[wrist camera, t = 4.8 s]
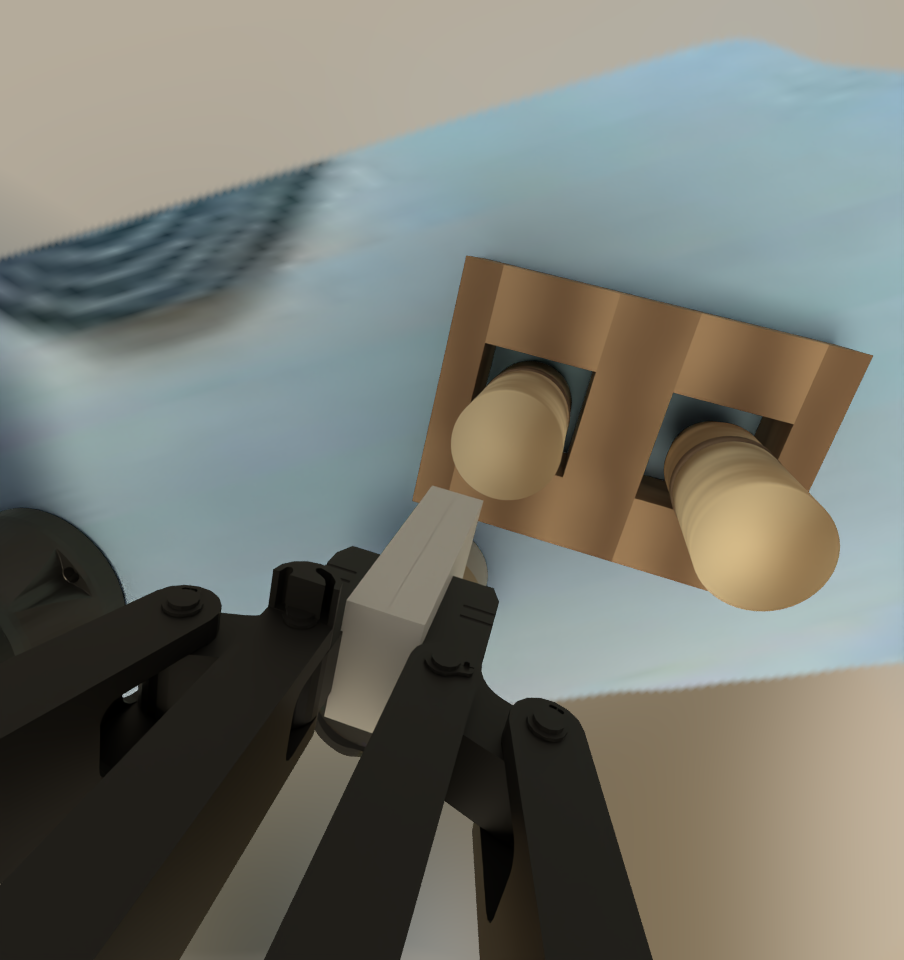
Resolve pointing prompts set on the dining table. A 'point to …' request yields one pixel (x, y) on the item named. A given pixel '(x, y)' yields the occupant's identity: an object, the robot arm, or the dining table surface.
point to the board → (628, 403)
